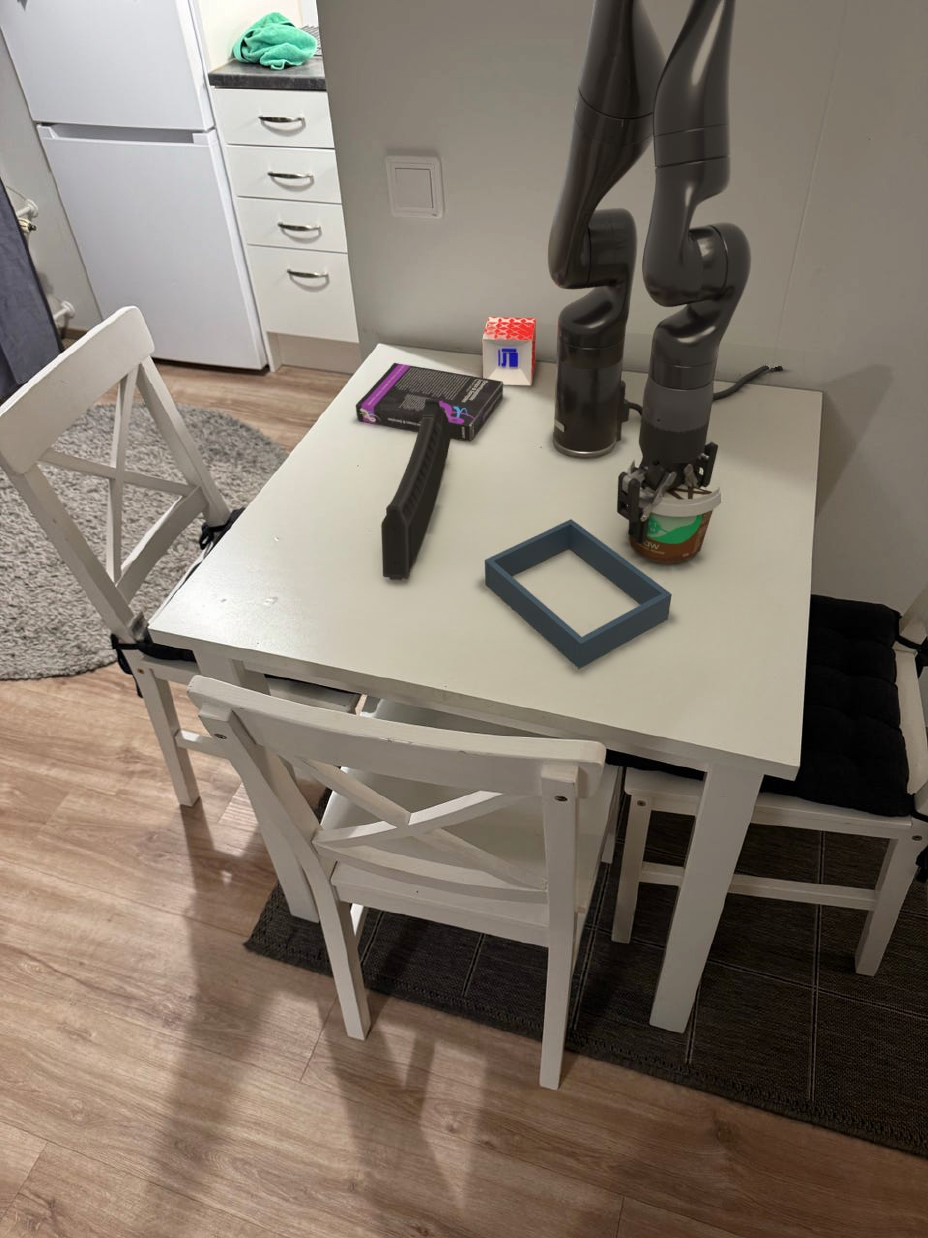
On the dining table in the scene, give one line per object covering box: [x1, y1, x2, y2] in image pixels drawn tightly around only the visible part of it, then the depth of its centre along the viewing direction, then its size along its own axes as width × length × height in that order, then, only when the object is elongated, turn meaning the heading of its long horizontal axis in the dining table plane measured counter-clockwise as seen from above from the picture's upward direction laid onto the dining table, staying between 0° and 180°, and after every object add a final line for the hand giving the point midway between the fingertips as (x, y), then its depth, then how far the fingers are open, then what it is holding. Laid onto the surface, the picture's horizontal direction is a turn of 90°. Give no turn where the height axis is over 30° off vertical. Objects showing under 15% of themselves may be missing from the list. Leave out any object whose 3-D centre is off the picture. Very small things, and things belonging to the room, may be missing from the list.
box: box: [354, 362, 504, 443], centre depth 143 cm, size 14×4×20 cm
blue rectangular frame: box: [484, 518, 673, 669], centre depth 109 cm, size 14×18×4 cm
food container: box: [626, 459, 722, 563], centre depth 112 cm, size 12×6×10 cm, turn 55°
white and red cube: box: [481, 316, 537, 386], centre depth 150 cm, size 8×8×8 cm
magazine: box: [380, 399, 452, 581], centre depth 120 cm, size 17×3×30 cm
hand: (659, 528), depth 113 cm, fingers closed on food container, 7 cm apart
